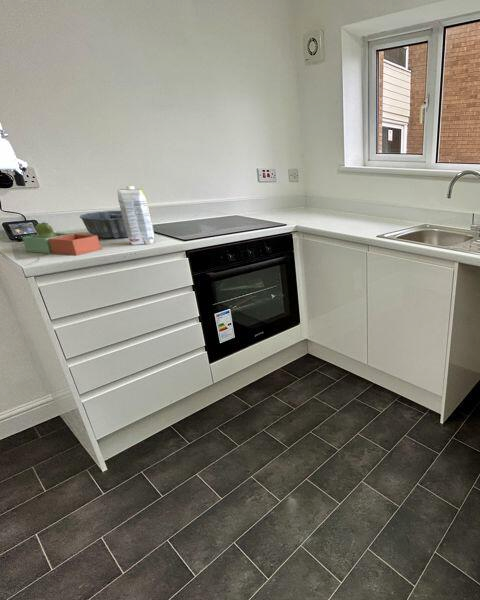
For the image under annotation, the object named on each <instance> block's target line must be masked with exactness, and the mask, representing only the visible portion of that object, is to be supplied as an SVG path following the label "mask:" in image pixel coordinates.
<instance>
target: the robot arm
mask: <svg viewBox="0 0 480 600" xmlns="http://www.w3.org/2000/svg"><path fill="white" fill-rule="evenodd" d="M8 137H9V136H8V133H7V132H4V130H3V126H2V123H1V122H0V170H1V171H3V170H6V171H7V170H8V171H9V170H10V171H11V172H12V173H13V179H14V182H15V185H16V186H17V187H26V181H25V178H24V175H25V173H26V171H27V166H28V163H27V162H26V161H24V160H22V159H19V158H17V156H16V153H15V151H14V149H13V146H12V145H11V143H10V142H9V140H7V138H8Z"/></svg>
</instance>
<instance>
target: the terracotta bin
mask: <svg viewBox="0 0 480 600" xmlns="http://www.w3.org/2000/svg"><path fill="white" fill-rule="evenodd" d="M49 242H50V245H51V248H52V251H53V253H52V254H55V255H56V254H57V255H70V256H78V255H83V254H87V253H91V252H96V251H99V250H102V247H101V243H100V240H99V237H98V236H97V235H92V234H82V233H81V234H79V233H72V235H67V236H62V237H56V238H51V239H49Z"/></svg>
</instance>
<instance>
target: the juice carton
mask: <svg viewBox="0 0 480 600" xmlns="http://www.w3.org/2000/svg"><path fill="white" fill-rule="evenodd" d="M117 200H118V205H119V208H120V211H121V213H122V216H123V220H124V224H125V228H126V232H127V236H128V237H127V238H128V240H129V243H130V244H131V245H132V246H135V245H136V246H137V245H152V244H153V243H154V240H155V231H154V226H153V221H152V218H151V212H150V209H149V203H148V199H147V196H146V194H145V191H144V190H143V188H135V186H133V185H126V188H120V189H118V190H117Z"/></svg>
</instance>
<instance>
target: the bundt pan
mask: <svg viewBox="0 0 480 600" xmlns="http://www.w3.org/2000/svg"><path fill="white" fill-rule="evenodd" d="M79 218H80V219H81V220H82V222H83V225H84V226H85V228H86V231H88V233H90V235H97V236H98V238H99V239H111V238H114V239H119V238H128V236H127V232H126V228H125V224H124V220H123V216H122V213H121V210H105V211H96V212H95V211H93V212H86V213H83V214H80V215H79Z"/></svg>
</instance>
